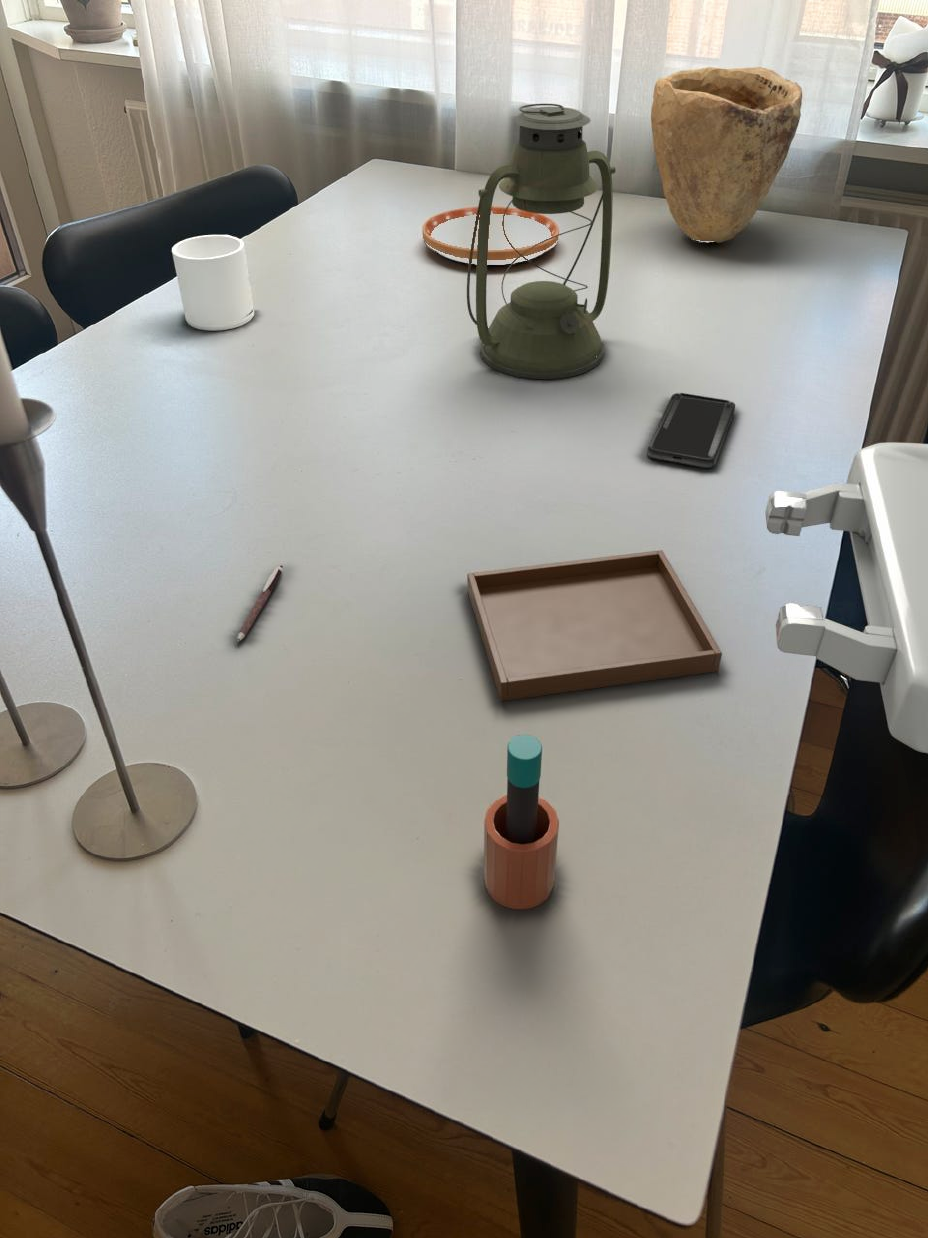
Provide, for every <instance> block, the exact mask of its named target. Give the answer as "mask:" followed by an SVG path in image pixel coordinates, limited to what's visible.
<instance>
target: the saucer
mask: <svg viewBox="0 0 928 1238" xmlns="http://www.w3.org/2000/svg"><path fill="white" fill-rule="evenodd" d="M506 208H507V206H493V205H492V207H491V213H493V214H504V212H505V210H506ZM477 211H478V206H469V207H461V208H455V209H451V210H447V211H443V212H439V213H437V214H435V215H433V216H431V217H430V218H428V219H427V220H425V222H424V223H423V224H422V229H421V233H422V240H423V239H424V241H425V242H426V243H427V244H428V245H429V246H431V247H432V248H434V249H436V250H438V251H440V252H443V253H445V254H449V255H453V256H455V257H460V258H468V259H469V258H470V251H471V249H469V248H462V247H457V246H452V245H448V244H445V243H442V242H440V241H437V240H435V239H434V238H432V237H430V236H431V233H432V231H433V230H434V228H435V227H437V226H438V225H439V224H441V223H444V222H446V221H448V220H451V219H455V218H459V217H464V216H470V215H474V214H476V215H477ZM505 214H506V215H514V216H520V217H524V218H529V219H533V220H535V221H537V222H539V223H541V224H543V225H545V226H546V227H547V228H548V229H549V230H550V232H551V236H552V237H554V236H556V235H559V234H560V228H559V225H558V224H557V223H556V221H554V220H553V219H552V218H550V217H549V216H546V215H545V214H539V213H531V212H526V211H523V210H520V209H518V208H516V207H510V206H509V207H508V209H507V211H506V213H505ZM559 236H560V235H559ZM557 240H558V241H559V237H558V236H557V237H554V238H552V239H550V240H547V241H545V242H543V243H541V244H539V245H537V246H535V245H536V244H535V245H532V246H527V247H522V248H516V250H517V251H518V252H519V253H520V254H522V253H524V252H525V251H526V250H528V249H530V248H531V247H533V246H535V247H534V248H532V249H530V250H529V251H527V252H526V253H524V254H523V255H522V256H528V255H531V254H534V253H537V252H540V251H543V250H546V249H547V248H549V247H550V246H552V245H553V244H554V243H556V241H557ZM424 241H423V242H424ZM519 256H520V255H519V254H518V253H517V252H516V251H515V250H514V249H505V250H488V256H487V260H506V259H513V258H517V257H519ZM520 257H521V256H520ZM520 257H519V258H520ZM472 259H477V249H473V256H472Z"/></svg>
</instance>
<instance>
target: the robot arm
mask: <svg viewBox="0 0 928 1238" xmlns="http://www.w3.org/2000/svg"><path fill="white" fill-rule="evenodd" d="M850 465H851V466H850V469H849V472H848V475H847V478H846V481H845V483H844V482H843V483H841V482H835V483H832V484H829V485H825V486H822V487H818V488H815V489H811V490H809V491H808V490H807V491H805V492H794V491H783V490H776V491H773V492H771V493H770V495H768V500H767V503H766V507H765V512H764V513H765V524H766V529H767V530H768V532H769V533H771V534H775V535H779V534H780V535H781V534H783V535H786V536H795V537H800V535H801V532H802V528H807V527H813V526H818V525H824V524H825V525H826V524H829V528H830V529H831V530H832V531H840V532H841V531H842V532H849V535H850V542H851V546H852V551H853V556H854V560H855V565H856V571H857V576H858V581H859V585H860V590H861V591H860V592H861V596H862V601H863V607H864V612H865V616H866V617H865V618H866V621H867V625H866V626H865V627H864V629H863V631H860V630H856V629H854V628H852V627H849V626H846V625H843V624H841V623H838V622H836V621H833V620H830V619H828V618H825V617H824V613H823V608H822V606H816V605H803V606H801V605H799V604H797V603H786V604H784V605H782V606H781V607H780V609H779V612H778V615H777V616H778V617H777V619H776V623H775V632H776V633H775V634H776V645H777V649H778V650H779V651H780V652H782V653H785V654H786V653H787V654H793V655H801V656H810V657H815V659H816V660H819V661H821V662H823V663H824V664H825V665H828V666H830V667H831V668H833V669H835V670H837V671H839V672H840V673H843V674H845V675H846V676H848V677H850V678H852V679H854V680H856V681H864V682H872V683H879V686H880V691H881V696H882V697H881V698H882V702H883V706H884V712H885V717H886V721H887V728H888V731H889V733H890V735H891V736H892V737H893V738H894V739H896V740H897V741H899V742H901V743H902V744H904V745H906V746H908V747H909V748H911V749H913V750H914V751H917V752H919V753H925V754H928V443H920V442H919V443H916V442H892V441H891V442H889V441H888V442H878V443H873V444H871V445H868V446H866V447H863V448H861V449H858V450H857V451H856V453H855V455H854V457H853V460H852V462H851V464H850Z"/></svg>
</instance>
